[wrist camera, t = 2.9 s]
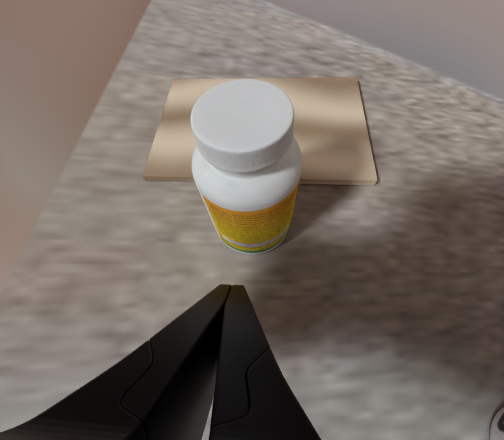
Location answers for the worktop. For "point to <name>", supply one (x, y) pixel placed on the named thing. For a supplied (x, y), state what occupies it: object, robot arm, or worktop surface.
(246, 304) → the robot arm
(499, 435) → the supplement bottle
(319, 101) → the birch board
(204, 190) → the supplement bottle
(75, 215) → the worktop surface
